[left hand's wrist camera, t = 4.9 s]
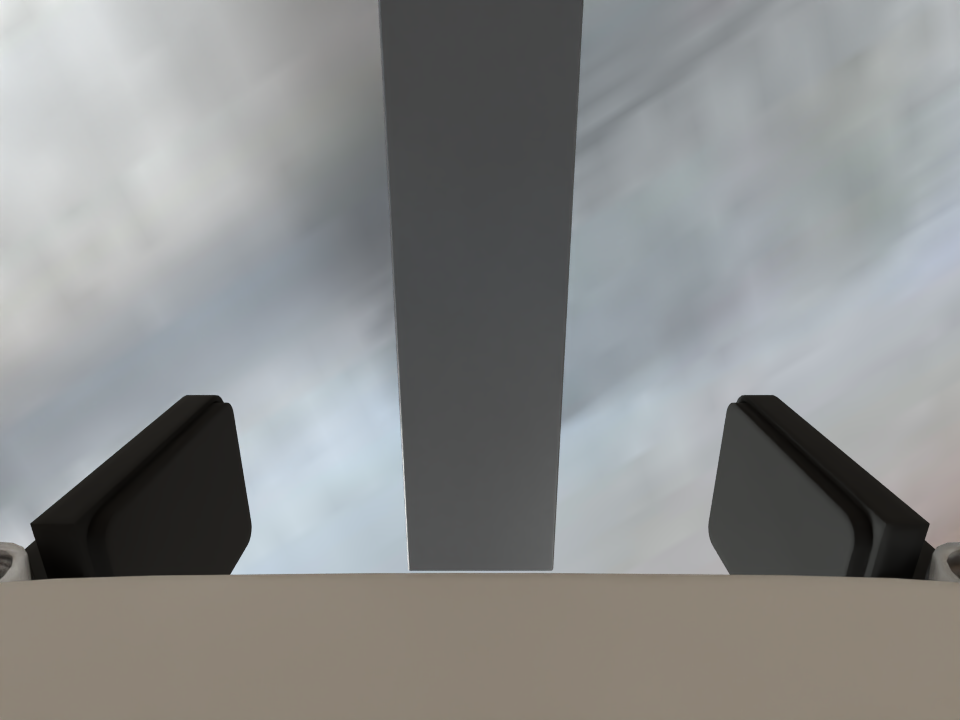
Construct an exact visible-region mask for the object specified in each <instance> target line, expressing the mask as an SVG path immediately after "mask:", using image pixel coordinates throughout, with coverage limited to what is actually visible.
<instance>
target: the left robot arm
mask: <svg viewBox="0 0 960 720" xmlns="http://www.w3.org/2000/svg"><path fill="white" fill-rule="evenodd" d="M30 525H31V528H32V531H33V534H34V537H35V541H34V542H33V543H31V544H30V545H29V546H28V547H27V548H26V549H24V548H23V547H22V546H19V545H17V544H14V543H6V542H0V720H960V542H954V543H946V544H943V545H941V546H938V547H937V548H936V549H934V548H933V547H932V546H931V545H930V544H929V543H927V542H926V541H925V537H926V534H927V531H928V528H929V525H930V524H929V523H928V522H927V521H926V520H925V519H923V518H922V517H921V516H920V515H919V514H917V513H916V512H915V511H914V510H913V509H911V508H910V507H909V506H908V505H907V504H905V503H904V502H903V501H902V500H901V499H899V498H898V497H897V496H896V495H894V494H893V493H892V492H891V491H890V490H888V489H887V488H886V487H885V486H884V485H882V484H881V483H880V482H879V481H878V480H876V479H875V478H874V477H873V476H872V475H870V474H869V473H868V472H867V471H866V470H864V469H863V468H862V467H861V466H860V465H858V464H857V463H856V462H855V461H853V460H852V459H851V458H850V457H849V456H847V455H846V454H845V453H844V452H843V451H841V450H840V449H839V448H838V447H837V446H835V445H834V444H833V443H832V442H831V441H829V440H828V439H827V438H826V437H825V436H823V435H822V434H821V433H820V432H819V431H817V430H816V429H815V428H814V427H812V426H811V425H810V424H809V423H808V422H806V421H805V420H804V419H803V418H802V417H800V416H799V415H798V414H797V413H796V412H794V411H793V410H792V409H791V408H790V407H788V406H787V405H786V404H785V403H784V402H782V401H781V400H780V399H779V398H778V397H776V396H774V395H742V396H741V397H739V399H738V400H737V402H736V403H731V404H730V405H729V406H728V409H727V413H726V419H725V425H724V431H723V437H722V444H721V450H720V456H719V462H718V468H717V475H716V481H715V487H714V493H713V499H712V505H711V512H710V518H709V526H708V529H709V537H710V540H711V543H712V545H713V547H714V548H715V550H716V552H717V554H718V555H719V557H720V559H721V560H722V562H723V564H724V565H725V567H726V569H727V571H728V572H729V574H730V575H703V574H587V573H349V574H258V575H230V574H231V572H232V571H233V569H234V567H235V565H236V564H237V562H238V560H239V559H240V557H241V555H242V554H243V552H244V550H245V548H246V547H247V545H248V543H249V540H250V537H251V529H252V526H251V518H250V512H249V505H248V499H247V493H246V487H245V481H244V475H243V468H242V462H241V456H240V450H239V444H238V437H237V431H236V425H235V419H234V413H233V409H232V406H231V405H230V404H229V403H224V402H223V400H222V399H221V397H219V396H218V395H186V396H184V397H182V398H181V399H180V400H179V401H178V402H176V403H175V404H174V405H173V406H172V407H170V408H169V409H168V410H167V411H166V412H164V413H163V414H162V415H161V416H160V417H158V418H157V419H156V420H155V421H154V422H152V423H151V424H150V425H149V426H148V427H146V428H145V429H144V430H143V431H141V432H140V433H139V434H138V435H137V436H135V437H134V438H133V439H132V440H131V441H129V442H128V443H127V444H126V445H125V446H123V447H122V448H121V449H120V450H119V451H117V452H116V453H115V454H114V455H113V456H111V457H110V458H109V459H108V460H107V461H105V462H104V463H103V464H102V465H100V466H99V467H98V468H97V469H96V470H94V471H93V472H92V473H91V474H90V475H88V476H87V477H86V478H85V479H84V480H82V481H81V482H80V483H79V484H78V485H76V486H75V487H74V488H73V489H72V490H70V491H69V492H68V493H67V494H66V495H64V496H63V497H62V498H61V499H59V500H58V501H57V502H56V503H55V504H53V505H52V506H51V507H50V508H49V509H47V510H46V511H45V512H44V513H43V514H41V515H40V516H39V517H38V518H37V519H35V520H34V521H33V522H32V523H31V524H30Z"/></svg>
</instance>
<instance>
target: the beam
mask: <svg viewBox="0 0 960 720" xmlns="http://www.w3.org/2000/svg"><path fill="white" fill-rule="evenodd" d="M378 5H379V24H380V43H381V62H382V81H383V100H384V119H385V138H386V157H387V176H388V196H389V215H390V234H391V253H392V272H393V291H394V310H395V329H396V348H397V367H398V386H399V405H400V424H401V443H402V462H403V481H404V500H405V519H406V538H407V557H408V569H409V570H410V571H551V570H553V561H554V542H555V524H556V505H557V486H558V468H559V449H560V430H561V411H562V393H563V374H564V355H565V336H566V318H567V299H568V280H569V262H570V243H571V224H572V205H573V187H574V168H575V149H576V130H577V112H578V93H579V74H580V56H581V37H582V18H583V0H378Z"/></svg>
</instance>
